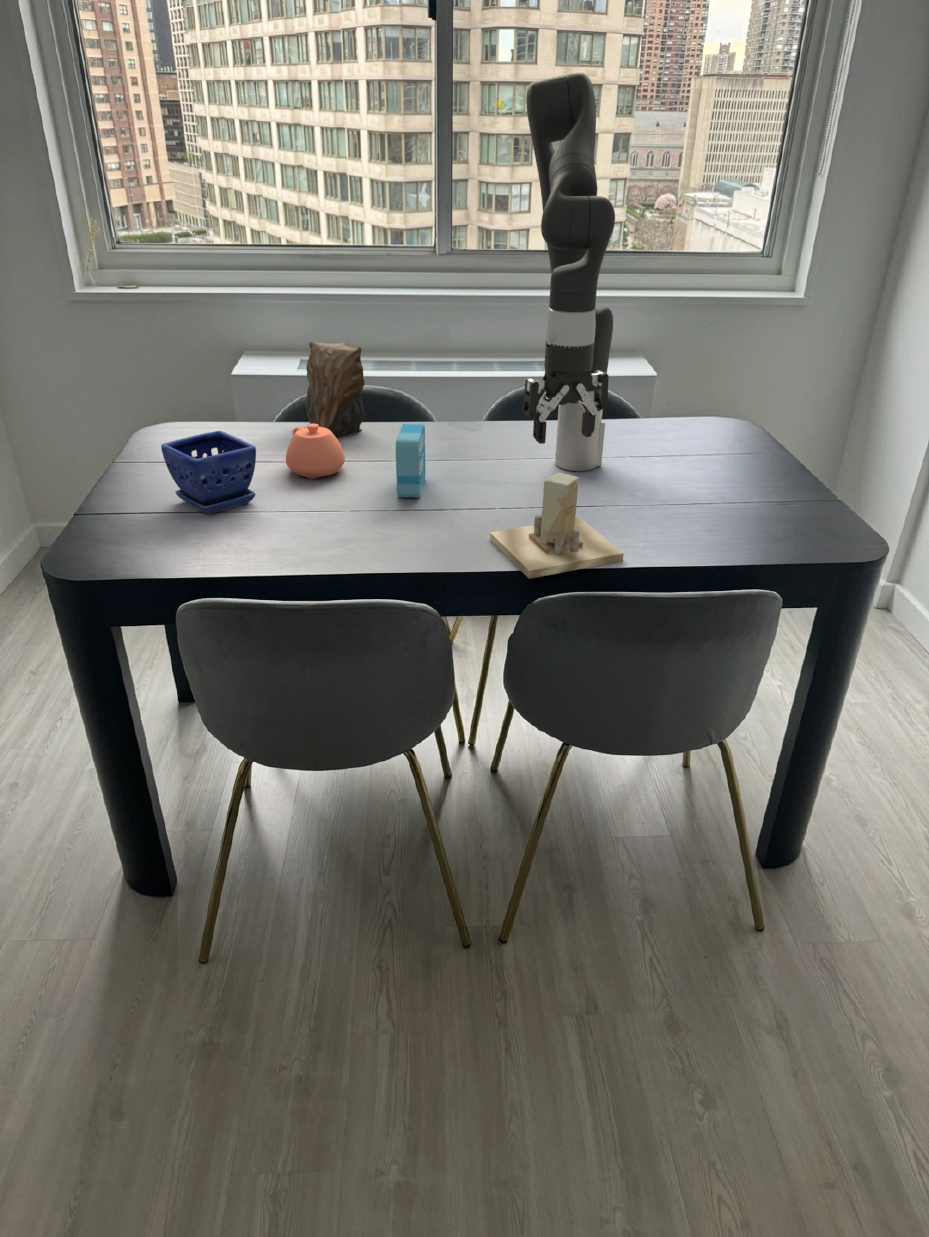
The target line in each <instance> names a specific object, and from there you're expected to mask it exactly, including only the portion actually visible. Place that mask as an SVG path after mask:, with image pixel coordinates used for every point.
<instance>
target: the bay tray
mask: <svg viewBox="0 0 929 1237" xmlns="http://www.w3.org/2000/svg"><path fill="white" fill-rule="evenodd" d="M533 522H534V524H533V525H532V524H531V525H525V526H519V527H514V528H509V529H501V530H496V531H490V532H489V540H490V542H491V543H492V544H494V545H495V547H496V548H497V549H498V550H500V552H501V553H503V554H504V556H506V558H507V559H508V560H509V561H511V562H512V564H514V566H515V567H516V568H518V569H519V571H520V572H522V573H523V575H525V577H527V579H530V580H531V579H535V578H541V577H545V576H551V575H556V574H557V575H558V574H561V573H562V574H563V573H567V572H572V571H577V570H582V569H587V568H593V567H597V566H603V565H608V564H615V563H619V562H623V560H624V556H625V555H624V554H625V553H624V552H623V551H622V550H621V549H620V548H618V547H617V546H615V545H614V544H613V543H612V542H610V541H609V540H608V539H607V538H605V537H604V536H603V535H601V533H599V532H597V530H596V529H594V528H593V527H591V526H590V525H589V524H588V523H586V522H585V521H584V520H582V518H580V517H575V526H574V530H573V531H571V538H570V539H569V540H568V541H566V542H565V543H564V544H563V542H564V534H562V533H557V534H556V538H555V543H551V542H547V541H543V540H540V537H541V522H542V514H537V515H536V514H535V515H534V521H533Z"/></svg>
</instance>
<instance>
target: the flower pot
mask: <svg viewBox="0 0 929 1237" xmlns="http://www.w3.org/2000/svg"><path fill="white" fill-rule="evenodd" d="M160 447H161V452H162V456H163V460H164V462H165V464H166V465H165V466H166V467H167V470H168V472H169V474H170V476H171V478H172V480H173V482H174V483H175V484H176V486H177V487H178V488H179V489H177V490H175V494H176V496H177V497H178V498H180V500H182V501H183V502H185V503H187V504H188V505H189V506H192V507H193V508H195V509H197V510H199V511H201V512H202V513H204V514H205V515H211V514H214V513H215V514H216V513H218V512H221V511H226V510H229V509H232V508H235V507H238V506H241V505H245V504H247V503H250V502H251V501H252V500H254V498H255V496H256V492H255V491H253V490H251V489H249V487H250V485H251V482H252V480H253V477H254V473H255V468H256V461H257V460H256V459H257V448H256V446H255V445H253V444H251V443H249V442H247V441H245V440H243V439H241V438H239V437H237V436H234V435H231V434H230V433H227V432H224V431H222V430H215V431H211V432H205V433H202V434H201V433H200V434H195V435H191V436H188V437H183V438H179V439H176V440H172V441H168V442H165V443H162V444H161V446H160ZM213 449H216V450H217V454H213V453H212V450H213ZM194 451H196V455H194V456H193V452H194ZM204 454H206V456H205V457H204Z"/></svg>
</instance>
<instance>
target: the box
mask: <svg viewBox="0 0 929 1237" xmlns="http://www.w3.org/2000/svg"><path fill="white" fill-rule="evenodd" d="M579 479H580V478H579V477H578V476H575V475H571V474H566V473H562V472H556V473H554V474H552V475H551V476H549V477H547V478H546V479H544V480H543V496H542V510H541V516H542V522H541V537H540V540H543V541H547V542H551V543H555V538H556V534H557V533H562V534H564V542H563V544H564V543H565V542H566V541H568V540H569V539H570V538H571V531H573V530H574V526H575V518H576V512H577V502H578V501H577V500H578V492H579V491H578V488H579Z"/></svg>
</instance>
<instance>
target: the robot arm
mask: <svg viewBox="0 0 929 1237" xmlns="http://www.w3.org/2000/svg"><path fill="white" fill-rule="evenodd" d="M525 99H526V100H525V101H526V114H527V120H528V126H529V132H530V137H531V141H532V142H531V143H532V147H533V153H534V158H535V162H536V167H537V169H536V170H537V173H538V179H539V187H540V195H541V207H542V215H541V223H540V232H541V235H542V239H543V240H544V242H545V243H546V246H547V247H546V248H547V252H548V258H549V264H550V272H551V275H550V283H549V284H550V285H549V286H550V288H549V302H548V303H549V307H548V312H547V313H548V314H547V318H546V325H545V326H546V327H545V328H546V330H545V344H544V346H545V347H544V365H543V366H544V375H543V378H541V379H533V378H531V377H528V378H526V379H525V382H524V391H523V392H524V393H523V400H522V401H523V402H522V415H524V416H526V417H527V418H528V419H529V420H533V428H532V431H533V432H532V437H533V439H535V441H536V442H537V443H538V444H541V445H543V444H545V443H546V438H547V421H546V420H547V418H548V416H550V413H551V412H553V411H554V410H556V408H557V407H558V410H557V411H558V414H557V429H556V445H555V455H554V456H555V458H554V459H555V460H554V464H555V466H557V467H558V468H560V469H563V470H567V471H571V472H572V471H573V472H586V471H592V470H594V469H596V468H597V467H601V466H602V461H603V451H604V442H605V441H604V440H605V430H606V423H605V422H604V421H602V420H603V411H605V410H607V409H608V406H609V405H608V403H609V402H608V401H609V400H608V399H609V378H610V377H609V374H608V368H609V360H610V352H611V345H612V339H613V333H614V315H613V312H612V310H611V309H610V308H609V307H607V306H603V305H596V302H597V289H598V281H599V275H600V271H601V267H602V263H603V260H604V257H605V254H606V251H607V249H608V246H609V243H610V241H611V238H612V235H613V231H614V228H615V224H616V213H615V208H614V205H613V203H612V202H611V201H610V200H609V198H607V197H604V196H602V195H601V196H599V195H598V182H597V173H596V168H595V167H596V165H595V147H596V134H597V133H596V131H597V130H596V129H597V127H596V126H597V110H596V108H597V107H596V97H595V90H594V87H593V83H592V80H591V78H590V76H589V75H588V74H587V73H584V72H572V73H566V74H563V75H558V76H555V77H554V76H553V77H548V78H543V79H540V80H536V81H533V82H531V83H530V84H529V85H528V86H527V90H526V98H525ZM554 142H556V143H557V142H560V143H559V145H558V146H557V147H556V149H555V150H554V146H553V144H552V143H554ZM542 389H544V393H543V394H542V396H541V397H540V399H539V394H541V393H542ZM538 399H539V400H538Z"/></svg>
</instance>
